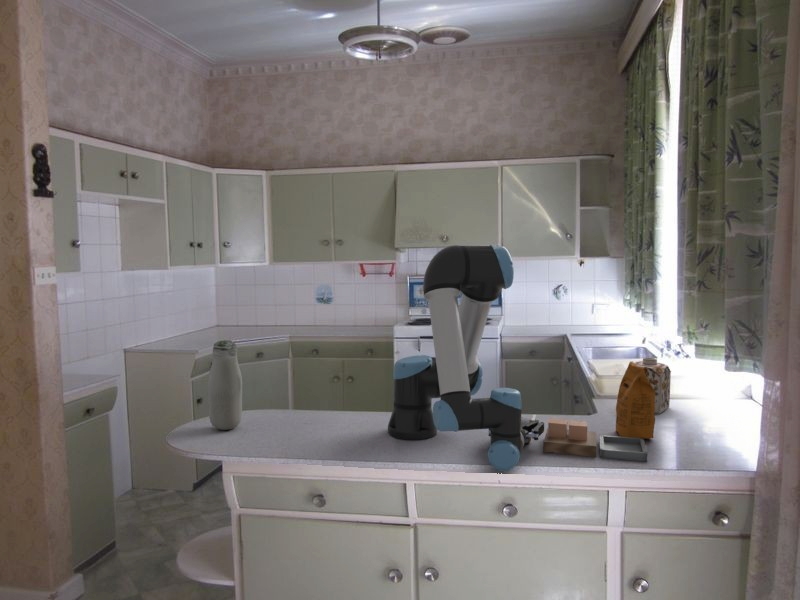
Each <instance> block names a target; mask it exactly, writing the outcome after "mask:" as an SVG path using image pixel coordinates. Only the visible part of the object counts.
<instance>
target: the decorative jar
mask: <svg viewBox="0 0 800 600" xmlns="http://www.w3.org/2000/svg"><path fill="white" fill-rule="evenodd" d="M633 363H634V364H636V366H637V367H643V368H646V369H648V372H647V373H645V375H646V377H647V379H648V380H649V382H650V384H651V385H652V387H653V389H654V391H655V412H654V414H657V415H660V414H662V413H664V411H666V410H667V409H668V408H669V407H670V401H671V400H670V399H671V398H670V397H671V375H672V374H671V373H672V370H671V369H670V366H669V365H667V364H665V363H661V362H658V360H657V358H655V357H643V358H642V361H641V360H639V361H635V362H633Z"/></svg>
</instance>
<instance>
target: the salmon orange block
mask: <svg viewBox="0 0 800 600" xmlns="http://www.w3.org/2000/svg"><path fill="white" fill-rule="evenodd" d="M568 430H569V439H574V440H586V441H587V431H588V421H581V420H580V421H578V420H568Z"/></svg>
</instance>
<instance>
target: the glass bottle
mask: <svg viewBox="0 0 800 600" xmlns="http://www.w3.org/2000/svg"><path fill="white" fill-rule="evenodd" d="M212 356H213V357H212V361H211V366H210V371H209V374H208V379H207V394H208V416H209V417H208V418H209V420H210V421H209V422H210V423H211V426H212V427H213V428H215V429H217V430H219V431H229V430H233V429H235V428H237V427H238V426H239V425H240V423H241V421H242V415H243V376H242V372H241V368H240V364H239V361H238V360H239V359H238V347H237V344H236V343H235V342H234V341H232V340H227V339H226V340H225V339H224V340H219V341H216V342H215V343H213V348H212Z"/></svg>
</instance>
